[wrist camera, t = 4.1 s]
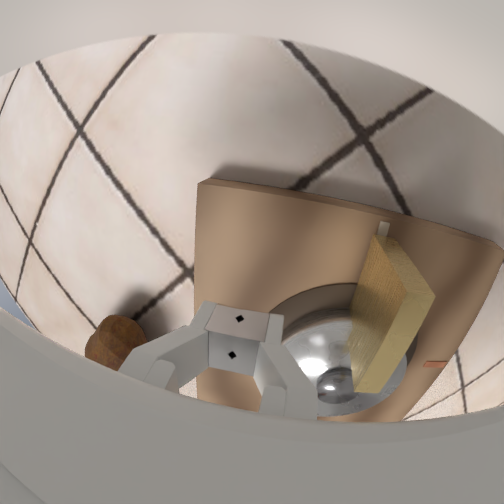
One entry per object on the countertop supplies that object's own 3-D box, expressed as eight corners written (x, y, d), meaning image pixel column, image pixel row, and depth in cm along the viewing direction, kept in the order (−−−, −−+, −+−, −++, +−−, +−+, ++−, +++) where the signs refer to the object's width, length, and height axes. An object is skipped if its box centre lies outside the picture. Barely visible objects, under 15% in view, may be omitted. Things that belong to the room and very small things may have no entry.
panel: (492, 241, 14) (507, 253, 13) (391, 414, 24) (393, 429, 22) (209, 177, 17) (196, 184, 15) (203, 389, 26) (197, 404, 24)
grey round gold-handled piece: (369, 401, 20) (375, 458, 14) (261, 389, 21) (248, 448, 16) (450, 252, 13) (499, 306, 8) (298, 218, 14) (294, 271, 9)
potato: (174, 322, 23) (138, 378, 17) (148, 378, 28) (123, 422, 22) (113, 283, 23) (66, 327, 16) (102, 348, 28) (72, 387, 21)
